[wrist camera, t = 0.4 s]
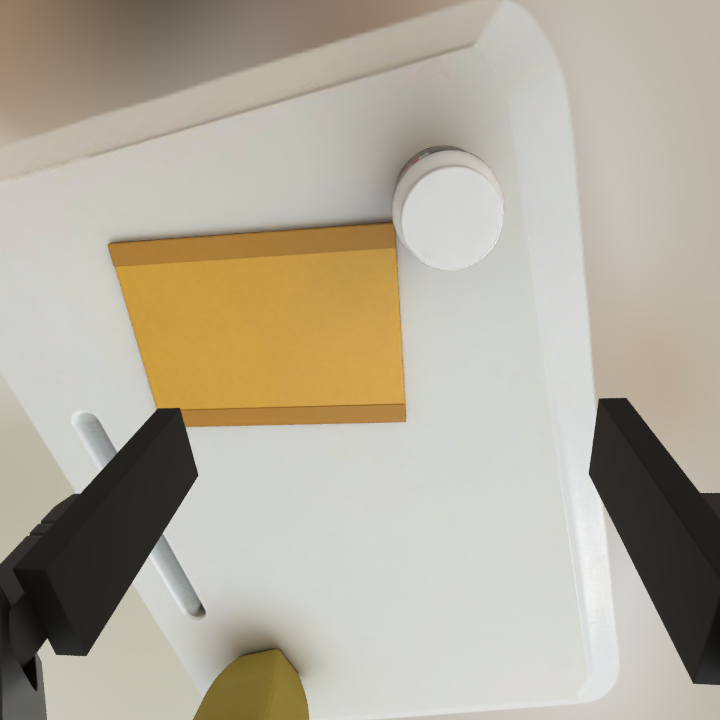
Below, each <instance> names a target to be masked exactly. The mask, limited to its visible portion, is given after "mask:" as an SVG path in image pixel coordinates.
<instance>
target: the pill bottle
mask: <svg viewBox="0 0 720 720" xmlns="http://www.w3.org/2000/svg"><path fill="white" fill-rule="evenodd" d="M503 213H504V196H503V191H502V188H501V185H500V182H499V180H498V178H497V176H496V175H495V173H494V172H493V170H492V169H491V168H490V167H489V166H488V165H487V164H486V163H485V162H484V161H483V160H481V159H480V158H479V157H477V156H475V155H473V154H471V153H468V152H466V151H464V150H462V149H460V148H457V147H452V146H436V147H431V148H428V149H425V150H423V151H421V152H419V153H418V154H417V155H415V156H414V157H413V158H412V159H411V160H410V161H409V162H408V163H407V164H406V165H405V166H404V168H403V169H402V171H401V173H400V175H399V177H398V180H397V184H396V188H395V192H394V196H393V201H392V219H393V224H394V227H395V230H396V233H397V235H398V237H399V239H400V241H401V242H402V244H403V245H404V246H405V247H406V248H407V250H408V251H409V252H411V253H412V254H413V255H414V256H415V257H416V258H417V259H418V260H420V261H421V262H422V263H424V264H426V265H427V266H430V267H432V268H436V269H439V270H459V269H463V268H466V267H469V266H471V265H473V264H475V263H477V262H478V261H480V260H481V259H482V258H484V257H485V256H486V255H487V254H488V253H489V252H490V250H491V249H492V248H493V247H494V245H495V243H496V242H497V240H498V238H499V235H500V233H501V229H502V225H503Z"/></svg>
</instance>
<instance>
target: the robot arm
mask: <svg viewBox="0 0 720 720" xmlns="http://www.w3.org/2000/svg"><path fill="white" fill-rule="evenodd" d="M589 475H590V477H591V479H592V481H593V483H594V485H595V487H596V489H597V491H598V493H599V495H600V497H601V499H602V501H603V503H604V505H605V507H606V509H607V511H608V513H609V515H610V517H611V519H612V521H613V523H614V525H615V527H616V529H617V531H618V533H619V535H620V537H621V539H622V541H623V543H624V545H625V547H626V549H627V551H628V554H629V555H630V557H631V560H632V562H633V563H634V566H635V568H636V570H637V571H638V574H639V576H640V577H641V579H642V581H643V584H644V586H645V587H646V590H647V592H648V594H649V596H650V598H651V600H652V601H653V604H654V606H655V608H656V610H657V612H658V614H659V616H660V618H661V620H662V622H663V624H664V626H665V628H666V630H667V632H668V634H669V636H670V637H671V640H672V641H673V644H674V646H675V648H676V650H677V652H678V654H679V656H680V658H681V660H682V662H683V664H684V666H685V668H686V670H687V672H688V673H689V676H690V677H691V680H692V682H693V684H711V685H720V493H700V492H699V491H698V490H697V489H696V487H695V486H694V485H693V483H692V482H691V481H690V480H689V478H688V477H687V476H686V474H685V473H684V472H683V470H682V469H681V468H680V467H679V465H678V464H677V463H676V462H675V460H674V459H673V458H672V456H671V455H670V454H669V452H668V451H667V450H666V449H665V447H664V446H663V445H662V444H661V442H660V441H659V440H658V438H657V437H656V436H655V434H654V433H653V432H652V431H651V429H650V428H649V427H648V425H647V424H646V423H645V422H644V420H643V419H642V418H641V416H640V415H639V414H638V412H637V411H636V410H635V409H634V407H633V406H632V405H631V403H630V402H629V401H628V400H627V398H607V399H606V398H603V399H599V402H598V409H597V417H596V424H595V432H594V439H593V446H592V454H591V461H590V469H589ZM197 477H198V472H197V468H196V465H195V461H194V457H193V454H192V450H191V446H190V443H189V439H188V435H187V432H186V428H185V424H184V420H183V417H182V413H181V409H180V408H158V409H157V410H156V411H155V412H154V414H153V415H152V416H151V417H150V418H149V419H148V420H147V421H146V422H145V423H144V425H143V426H142V427H141V428H140V429H139V430H138V431H137V432H136V433H135V434H134V436H133V437H132V438H131V439H130V440H129V441H128V442H127V443H126V444H125V445H124V447H123V448H122V449H121V450H120V451H119V452H118V453H117V454H116V455H115V456H114V458H113V459H112V460H111V461H110V462H109V463H108V464H107V465H106V466H105V467H104V469H103V470H102V471H101V472H100V473H99V474H98V475H97V476H96V477H95V478H94V479H93V481H92V482H91V483H90V484H89V485H88V486H87V487H86V488H85V489H84V490H83V492H82V493H81V494H73V495H71V496H70V497H68V498H67V499H66V500H64V501H62V502H61V503H59V504H58V505H56V506H55V507H54V508H53V509H52V510H51V511H50V512H49V513H48V514H47V515H46V516H45V517H44V519H43V520H42V521H41V524H38V525H37V526H36V527H35V528H34V529H33V530H32V531H31V532H30V535H29V536H27V537H26V538H25V539H24V540H23V541H22V542H21V543H20V544H19V545H18V546H17V547H16V548H15V549H14V550H13V552H11V554H9V556H8V557H7V558H6V559H5V560H4V561H3V562H2V563H1V564H0V720H47V715H46V704H45V694H44V683H43V672H42V662H41V660H40V658H39V656H38V654H37V652H38V650H39V648H40V647H41V646H42V645H43V643H44V642H45V640H46V639H47V638H48V640H49V642H50V644H51V646H52V648H53V649H54V651H55V653H56V655H73V656H87V654H88V653H89V651H90V649H91V648H92V646H93V644H94V643H95V641H96V639H97V638H98V636H99V635H100V633H101V632H102V630H103V628H104V627H105V625H106V623H107V622H108V620H109V619H110V617H111V615H112V614H113V612H114V611H115V609H116V607H117V605H118V604H119V603H120V601H121V599H122V597H123V596H124V594H125V593H126V591H127V590H128V588H129V586H130V585H131V583H132V582H133V580H134V578H135V577H136V575H137V574H138V572H139V570H140V569H141V567H142V566H143V564H144V562H145V561H146V559H147V557H148V556H149V554H150V553H151V551H152V549H153V548H154V546H155V545H156V543H157V541H158V540H159V538H160V537H161V535H162V533H163V532H164V530H165V528H166V527H167V525H168V524H169V522H170V520H171V519H172V517H173V516H174V514H175V512H176V511H177V509H178V507H179V506H180V504H181V503H182V501H183V499H184V498H185V496H186V495H187V493H188V491H189V490H190V488H191V487H192V485H193V483H194V482H195V480H196V478H197Z"/></svg>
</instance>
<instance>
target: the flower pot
mask: <svg viewBox="0 0 720 720" xmlns="http://www.w3.org/2000/svg"><path fill="white" fill-rule="evenodd" d="M193 720H309V711H308V704H307V699H306V695H305V692H304V689H303V686H302V683H301V680H300V677H299V675H298V674H297V672H296V671H295V670H294V668H293V667H292V666H291V664H290V663H289V662H288V660H287V659H286V658H285V656H284V655H283V653H282V652H281V651H280V650H278V649H272V650H268V651H264V652H259V653H254V654H250V655H245V656H240V657H239V658H237V659H236V660H235V661H233V662H232V663H231V664H230V665H228V666H227V667H226V668H225V669H224V670H223V671H222V672H221V673H220V674H219V676H218V677H217V678H216V679H215V680H214V682H213V683H212V685H211V686H210V688H209V689H208V691H207V693H206V695H205V697H204V699H203V701H202V703H201V705H200V707H199V709H198V711H197V713H196V715H195V717H194V719H193Z"/></svg>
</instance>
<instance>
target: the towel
mask: <svg viewBox="0 0 720 720" xmlns="http://www.w3.org/2000/svg"><path fill="white" fill-rule="evenodd" d="M108 248H109V252H110V255H111V258H112V262H113V265H114V267H115V269H116V272H117V276H118V279H119V282H120V286H121V289H122V293H123V296H124V299H125V303H126V306H127V310H128V313H129V316H130V320H131V323H132V327H133V330H134V333H135V337H136V340H137V344H138V347H139V350H140V354H141V357H142V360H143V364H144V367H145V371H146V374H147V377H148V381H149V384H150V388H151V391H152V394H153V398H154V401H155V405H156V408H157V409H158V408H180V409H181V413H182V417H183V420H184V424H185V427H205V426H249V425H294V424H338V423H383V422H406V411H405V393H404V376H403V359H402V341H401V324H400V307H399V289H398V272H397V255H396V237H395V227H394V224H393V222H387V223H374V224H360V225H346V226H333V227H319V228H306V229H292V230H278V231H265V232H251V233H237V234H224V235H210V236H197V237H183V238H169V239H156V240H142V241H128V242H115V243H110V244H108Z"/></svg>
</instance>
